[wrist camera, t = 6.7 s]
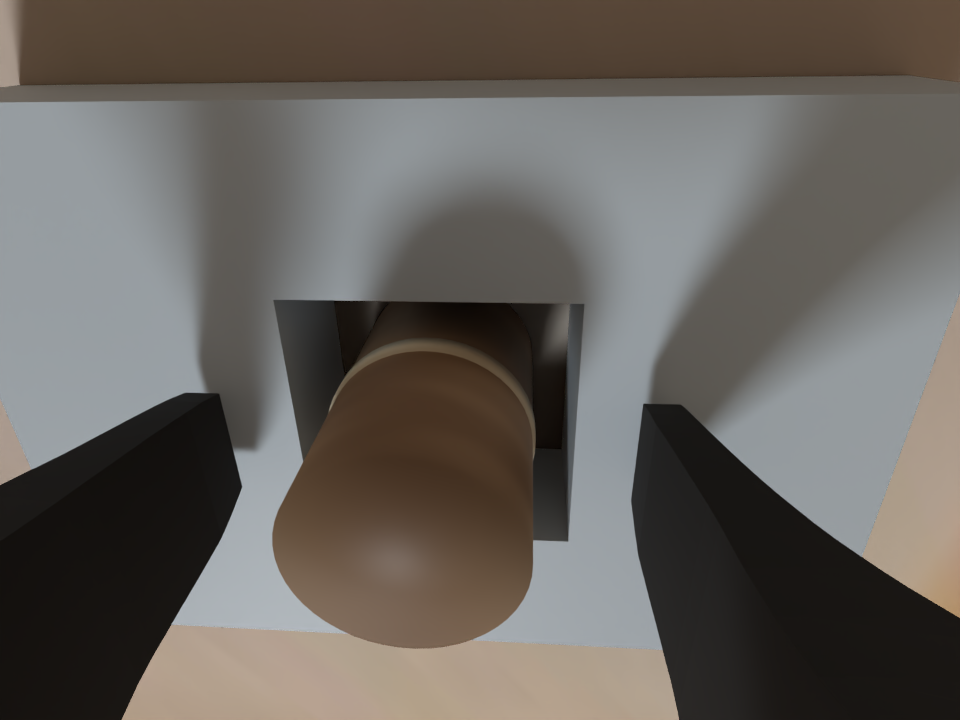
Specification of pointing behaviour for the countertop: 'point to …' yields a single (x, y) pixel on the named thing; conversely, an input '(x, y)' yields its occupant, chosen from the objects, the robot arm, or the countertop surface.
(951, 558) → the countertop surface
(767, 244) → the grey board
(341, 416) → the walnut peg
